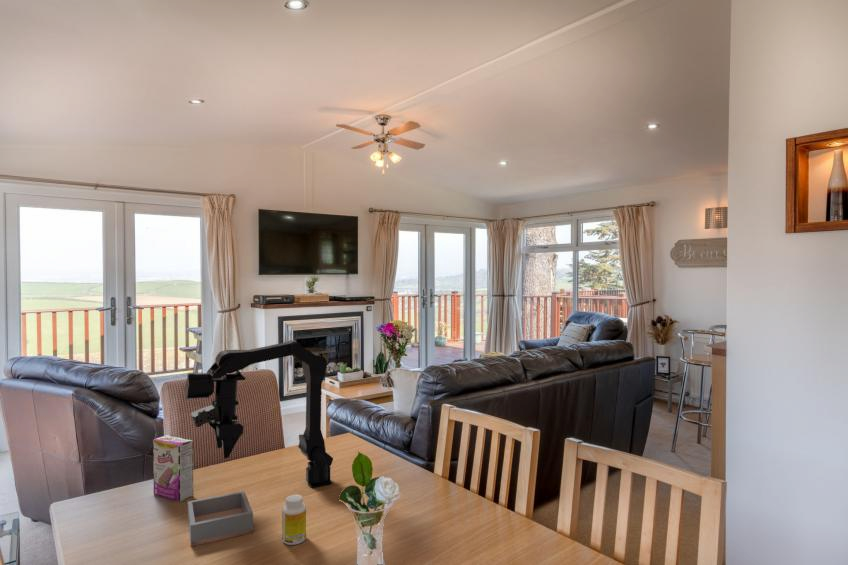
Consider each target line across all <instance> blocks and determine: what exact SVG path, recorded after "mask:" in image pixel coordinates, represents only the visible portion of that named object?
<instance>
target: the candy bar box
mask: <svg viewBox="0 0 848 565" xmlns="http://www.w3.org/2000/svg"><path fill="white" fill-rule="evenodd" d="M152 449H153V450H152V455H153V456H152V457H153V458H152V459H153V461H152V462H153V467H152V468H153V470H152V471H153V472H152V473H153V495H154V496H158V497H163V498H165V499H168V500H172V501H176V502H179V503H181V502H183V501H185V500H188V499H190V498H191V497H193V496H194V440H192V439H188V438H183V437H178V436H173V435H169V434H165V435H162V436H160V437H159V436H158V437H156V438H154V439H153V440H152Z"/></svg>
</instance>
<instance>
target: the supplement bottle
mask: <svg viewBox="0 0 848 565" xmlns="http://www.w3.org/2000/svg"><path fill="white" fill-rule="evenodd" d="M303 501H304V500H303V496H302V495H300V494H292V495H289V496H286V498H285V505H283V506H282V509H281V517H282V518H281V522H282V523H281V525H282V526H281V529H282V530H281V531H282V532H281V536H282V542H283V543H284V544H285V545H288V546H289V545H290V546H294V545H295V546H296V545H299V544H301V543H303V542H305V540H306V538H307V506H306V503H304V502H303Z"/></svg>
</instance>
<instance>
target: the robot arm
mask: <svg viewBox="0 0 848 565" xmlns="http://www.w3.org/2000/svg"><path fill="white" fill-rule="evenodd" d="M289 356H292V357H293V358H295V359H296V360H297V361H299V362H300V363H301V367H302V373H303V376H304V380H305V383H306V389H305V390H306V391H305V393H306V396H305V397H306V398H305V430H304V431H303V434H299V435H298V440H299V441H298V442H299V443H298V445H297V447H298V448H299V449H300V453H301V454H302V455H304V456H305V457H306V459H307V460H308V462H307V467H306V468H305V481H306V482H307V484H308V485H309V486H310V488H317V487H322V486H327V485H333V480H331V466H332V464H333V461H334V458H333V456H332V455H330V454H329V453H327V450H326V445H325V439H324V436H323V433H322V426H321V425H322V384H323V382H324V379H325V376H326V374H327V369H328V368H327V367H328V360H327V358H326V357H324V356H323V355H320V354H319V353H316V352H312V351H310V350H309V349H307V348H305V347H304V346H302V345H301V344H300V343H299V342H297V341H294V340H288V341H285V342H282V343H281V342H280V343H276V344H271V345H266V346H261V347H257V348H251V349H224V350H221V351H220V352H218V353H217V355H216V356H215V359H214V362H213V364H212V365H211V366H210V367H209V369H208V370H207V371H206V372H202V373H201V372H200V373H199V372H198V373H195V372H188V373H187V377H186V380H185V384H184V397H185V398H184V399H185V400H194V399H197V400H198V399H209V398H210V396H212V395H213V394H214V398H212V400H211V405H208V406H205V407H202V408H199V409H197V410H195V411H192V412H191V413H190V415H191V416H190V417H191V419H192V421H193V425H194V426H195V428H200V427H202V426H203V425H205V424H208V425H209V426H210V427H211V428H212V429H213V432H214V438H215V442H216V448H217V449H221V448H222V455H223V459H228V458H230V455H231V454H232V452H233V450H234V448H235V446H236V445H237V443H238V440H239V439H240V438H241V436H242V435H243V434H244V428H245V427H244V426H243V424H242V423H241V422H240V421H239V420H238V415H237V413H236V412H237V406H238V405H239V400H238V398H237V397H238V381H246V377H245V376H244V375H243V374H242V372H241V370H244V369H246V368H247V367H249V366H252V365H254V364H258V363H263V362H268V361H272V360H276V359H282V358H286V357H289Z"/></svg>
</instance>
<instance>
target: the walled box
mask: <svg viewBox="0 0 848 565" xmlns="http://www.w3.org/2000/svg"><path fill="white" fill-rule="evenodd" d="M248 499H249V498H248V496H247V495H246V491H245V490H241V491H237V492H231V493H225V494H221V495H215V496H209V497H206V498H205V497H204V498H199V499H194V500H188V501H187V524H188V532H189V533H188V536H189V541H190V542H189V544H190V547H195V546H199V545H203V544H208V543H213V542H219V541H221V540H226V539H231V538H235V537H239V536H243V535H248V534H252V533H254V513H253V512H254V511H253V510H252V507H251V504H250V502H249V500H248Z"/></svg>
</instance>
